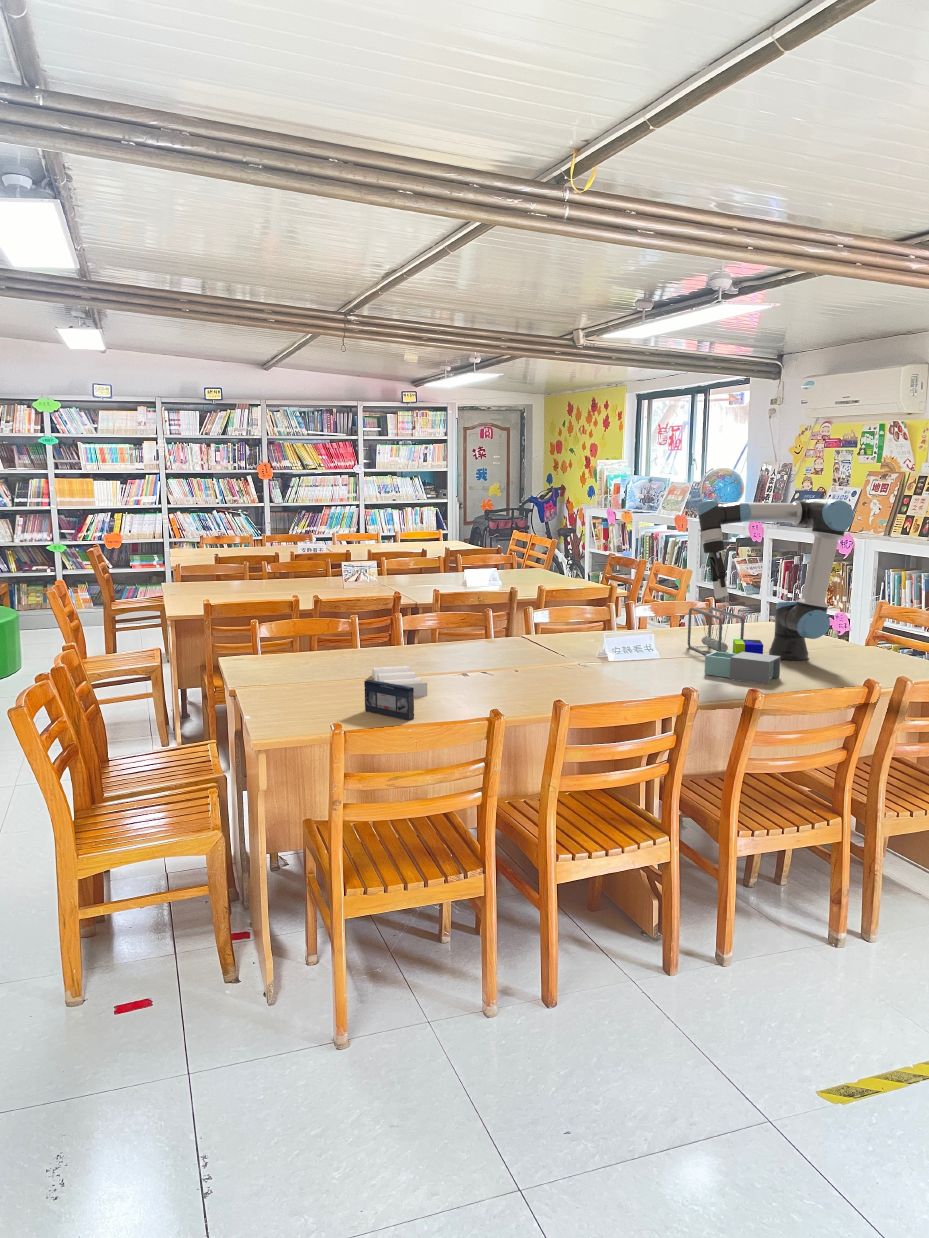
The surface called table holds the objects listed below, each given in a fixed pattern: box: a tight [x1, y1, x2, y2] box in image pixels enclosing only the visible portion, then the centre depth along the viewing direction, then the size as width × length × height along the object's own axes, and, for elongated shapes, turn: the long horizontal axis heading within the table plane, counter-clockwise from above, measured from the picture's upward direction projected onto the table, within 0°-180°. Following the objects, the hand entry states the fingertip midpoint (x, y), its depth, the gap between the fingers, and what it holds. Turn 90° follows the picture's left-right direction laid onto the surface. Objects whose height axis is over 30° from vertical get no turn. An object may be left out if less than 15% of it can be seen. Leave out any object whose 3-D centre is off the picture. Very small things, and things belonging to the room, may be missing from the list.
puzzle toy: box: [732, 638, 764, 654], centre depth 338 cm, size 10×10×10 cm
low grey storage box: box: [729, 652, 782, 686], centre depth 319 cm, size 14×12×8 cm
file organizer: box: [371, 665, 428, 698], centre depth 309 cm, size 13×35×5 cm, turn 15°
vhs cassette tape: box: [363, 679, 415, 721], centre depth 270 cm, size 18×3×10 cm, turn 52°
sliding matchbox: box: [704, 650, 774, 680], centre depth 323 cm, size 22×10×7 cm, turn 53°
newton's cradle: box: [687, 606, 745, 656], centre depth 363 cm, size 30×10×18 cm, turn 10°
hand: (721, 597), depth 329 cm, fingers open, 13 cm apart
